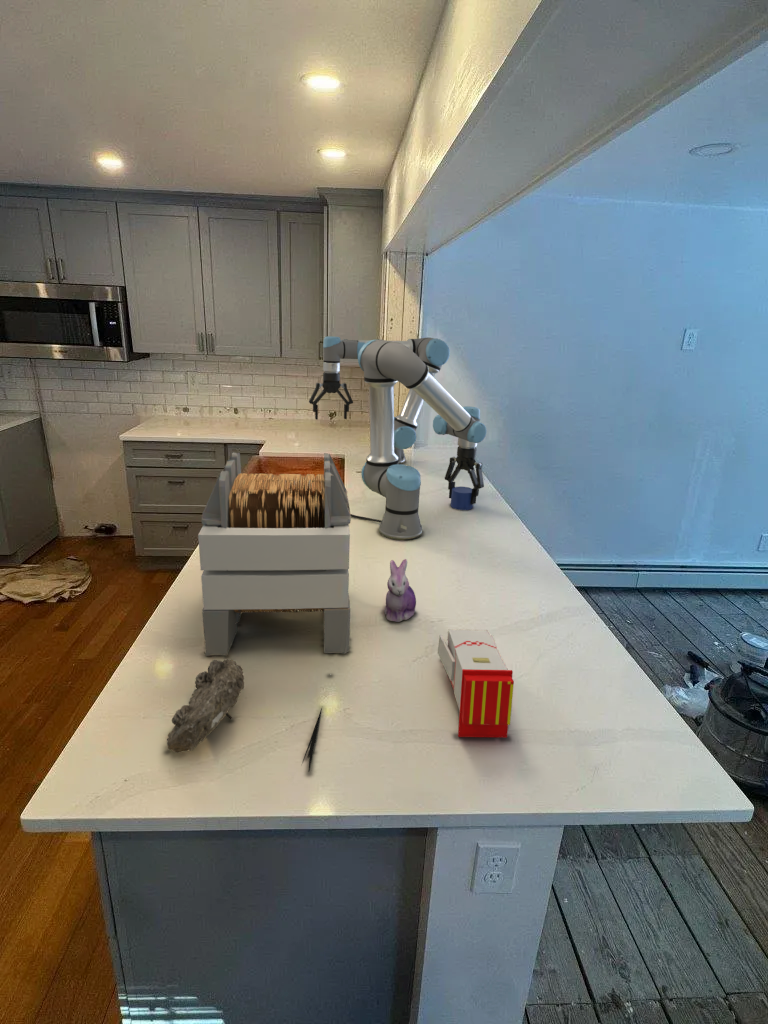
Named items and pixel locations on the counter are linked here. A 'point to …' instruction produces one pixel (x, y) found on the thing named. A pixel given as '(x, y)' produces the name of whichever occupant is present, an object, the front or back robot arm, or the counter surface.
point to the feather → (313, 740)
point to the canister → (461, 498)
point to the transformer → (275, 551)
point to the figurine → (399, 594)
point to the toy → (478, 682)
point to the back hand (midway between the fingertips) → (330, 418)
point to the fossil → (206, 705)
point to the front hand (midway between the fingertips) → (462, 500)
